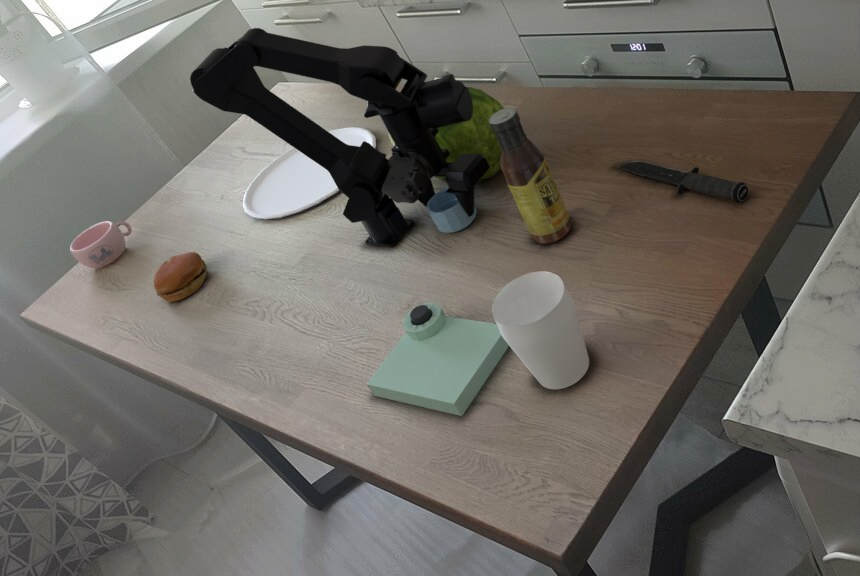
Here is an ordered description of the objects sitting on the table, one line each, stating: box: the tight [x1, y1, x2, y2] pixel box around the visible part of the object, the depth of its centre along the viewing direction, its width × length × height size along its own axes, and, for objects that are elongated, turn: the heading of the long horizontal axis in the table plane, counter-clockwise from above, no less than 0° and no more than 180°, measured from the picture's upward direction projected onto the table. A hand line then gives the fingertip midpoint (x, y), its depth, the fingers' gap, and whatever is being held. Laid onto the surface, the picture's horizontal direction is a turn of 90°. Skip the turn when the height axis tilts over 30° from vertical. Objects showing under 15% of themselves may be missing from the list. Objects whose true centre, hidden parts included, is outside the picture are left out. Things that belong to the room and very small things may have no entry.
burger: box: [152, 251, 208, 303], centre depth 150 cm, size 10×9×5 cm
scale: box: [366, 301, 510, 417], centre depth 109 cm, size 15×14×4 cm
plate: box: [242, 126, 377, 220], centre depth 167 cm, size 29×29×1 cm
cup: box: [490, 270, 590, 390], centre depth 98 cm, size 9×9×12 cm
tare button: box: [410, 304, 432, 326], centre depth 112 cm, size 3×3×1 cm
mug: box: [69, 220, 133, 269], centre depth 171 cm, size 12×10×6 cm
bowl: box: [425, 186, 478, 234], centre depth 133 cm, size 7×7×4 cm
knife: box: [616, 160, 750, 204], centre depth 121 cm, size 24×5×3 cm, turn 35°
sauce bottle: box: [489, 107, 572, 245], centre depth 117 cm, size 7×6×20 cm
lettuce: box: [387, 86, 505, 182], centre depth 142 cm, size 15×27×16 cm, turn 52°
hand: (454, 213), depth 134 cm, fingers closed on bowl, 7 cm apart
